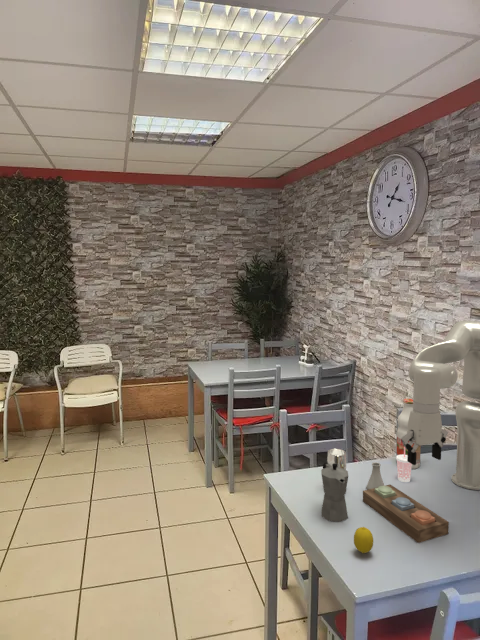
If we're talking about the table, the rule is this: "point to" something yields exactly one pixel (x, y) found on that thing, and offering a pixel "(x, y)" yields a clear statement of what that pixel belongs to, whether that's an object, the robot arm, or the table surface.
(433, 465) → the table surface
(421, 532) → the button panel
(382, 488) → the sage green button
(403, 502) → the slate blue button
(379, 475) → the flask
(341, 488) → the coffeepot
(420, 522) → the terracotta button
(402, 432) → the fruit juice
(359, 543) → the lemon
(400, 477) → the beverage cup
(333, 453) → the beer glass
